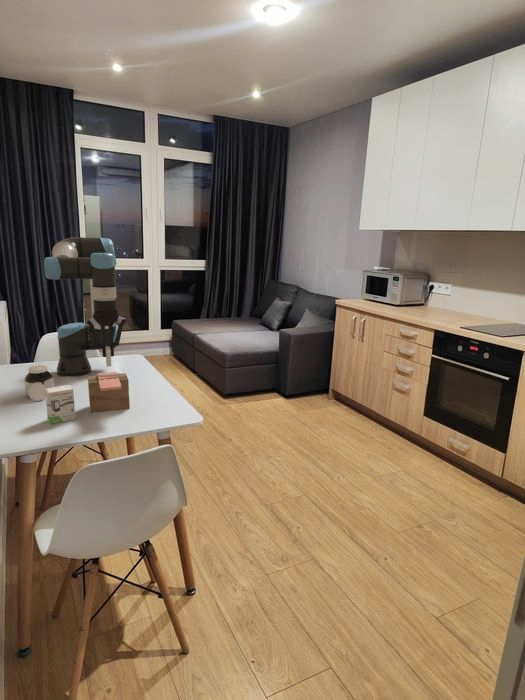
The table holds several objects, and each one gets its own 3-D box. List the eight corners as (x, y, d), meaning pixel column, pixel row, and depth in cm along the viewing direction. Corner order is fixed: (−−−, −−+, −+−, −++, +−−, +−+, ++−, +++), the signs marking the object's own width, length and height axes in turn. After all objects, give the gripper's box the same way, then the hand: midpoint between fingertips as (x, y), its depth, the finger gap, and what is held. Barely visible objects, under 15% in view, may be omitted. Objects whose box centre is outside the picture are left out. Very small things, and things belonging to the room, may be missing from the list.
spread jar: (47, 389, 186) (44, 363, 183) (62, 395, 180) (59, 368, 177) (18, 397, 176) (15, 369, 173) (33, 403, 170) (30, 375, 167)
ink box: (50, 424, 153) (47, 392, 150) (47, 419, 156) (44, 388, 153) (76, 419, 157) (73, 388, 154) (73, 414, 161) (70, 384, 158)
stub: (98, 382, 161) (98, 379, 161) (118, 380, 164) (118, 377, 163) (100, 391, 152) (100, 388, 152) (121, 389, 155) (121, 386, 154)
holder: (89, 405, 170) (87, 373, 167) (127, 401, 175) (125, 370, 172) (90, 413, 163) (88, 380, 159) (129, 408, 168) (128, 376, 165)
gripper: (84, 301, 143) (89, 370, 149) (126, 300, 148) (129, 366, 154) (84, 298, 150) (88, 364, 156) (123, 297, 155) (126, 361, 161)
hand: (108, 365), depth 155 cm, fingers closed
